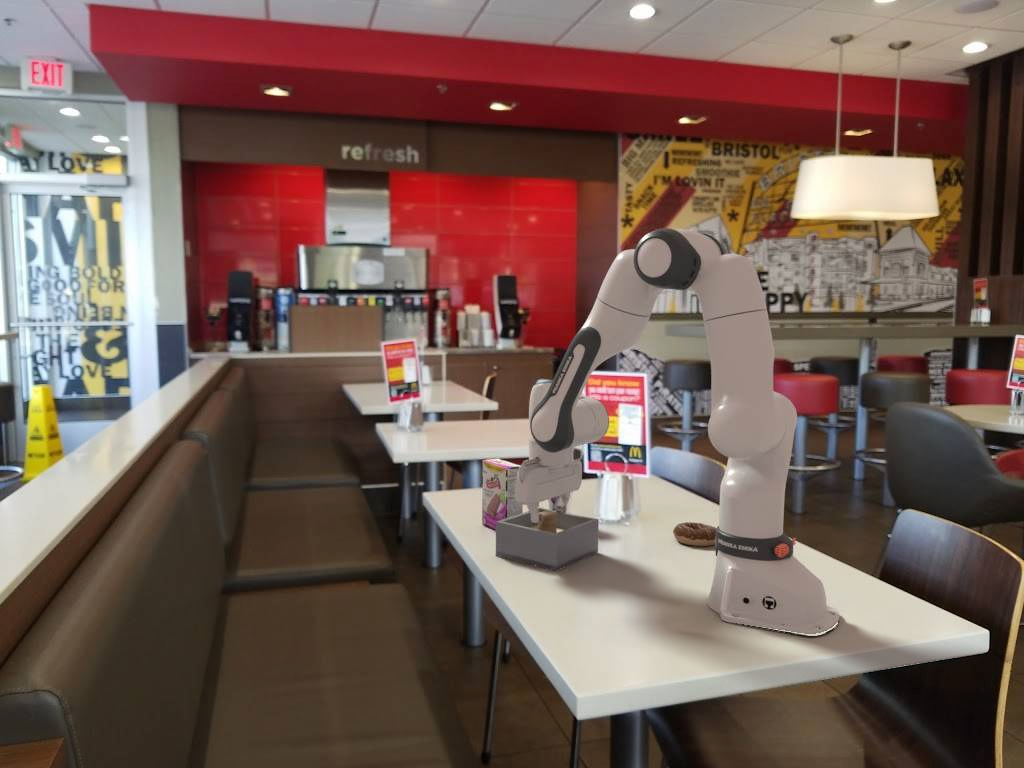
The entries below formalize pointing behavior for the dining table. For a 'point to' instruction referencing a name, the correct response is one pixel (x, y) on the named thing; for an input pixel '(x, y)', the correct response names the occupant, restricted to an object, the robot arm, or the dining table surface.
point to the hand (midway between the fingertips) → (549, 517)
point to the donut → (695, 534)
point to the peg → (548, 522)
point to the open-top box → (547, 540)
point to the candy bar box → (499, 491)
